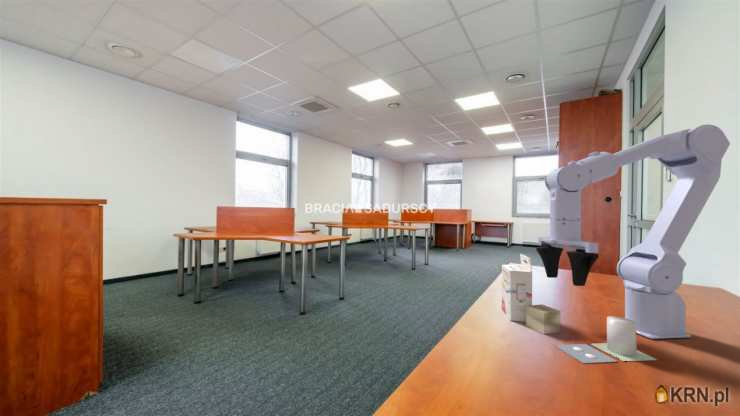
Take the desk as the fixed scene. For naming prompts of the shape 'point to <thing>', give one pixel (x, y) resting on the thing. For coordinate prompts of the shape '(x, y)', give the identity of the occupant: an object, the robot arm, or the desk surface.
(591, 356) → the pad two
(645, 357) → the pad one
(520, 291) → the ink cartridge box
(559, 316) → the birch block
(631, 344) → the white capsule cylinder
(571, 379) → the desk surface
